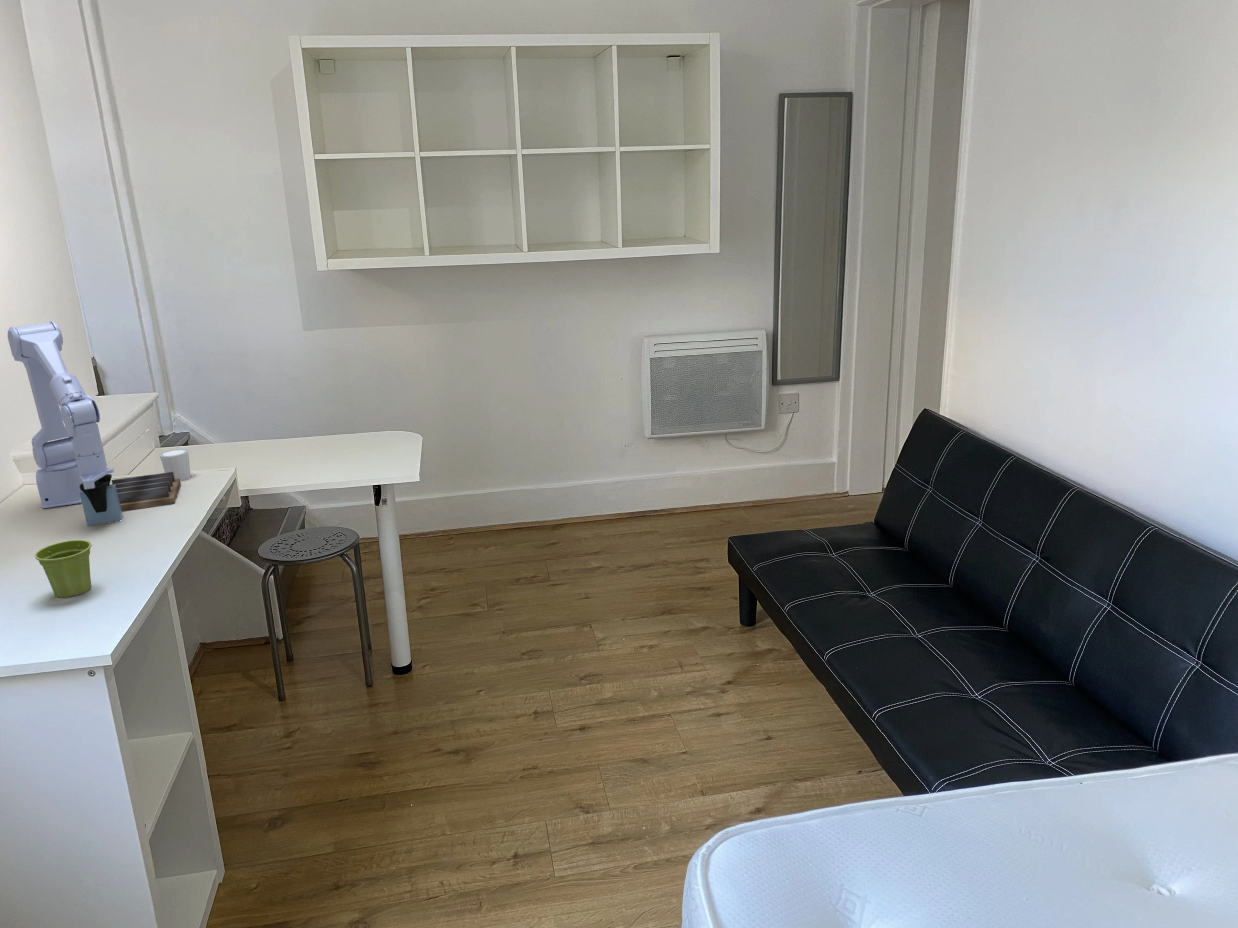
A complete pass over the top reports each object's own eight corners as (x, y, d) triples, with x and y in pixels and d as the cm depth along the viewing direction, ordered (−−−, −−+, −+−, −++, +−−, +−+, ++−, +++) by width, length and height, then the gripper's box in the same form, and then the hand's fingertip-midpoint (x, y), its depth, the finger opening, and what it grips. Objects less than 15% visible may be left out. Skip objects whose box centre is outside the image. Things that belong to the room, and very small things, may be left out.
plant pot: (111, 580, 182) (102, 539, 179) (80, 602, 173) (70, 559, 171) (67, 580, 183) (56, 539, 180) (33, 602, 174) (22, 559, 172)
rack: (100, 514, 220) (96, 498, 219) (111, 493, 234) (108, 478, 233) (174, 503, 225) (171, 488, 223) (180, 484, 239) (177, 469, 238)
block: (87, 525, 213) (79, 492, 210) (89, 522, 215) (81, 489, 213) (121, 520, 215) (113, 488, 213) (122, 517, 217) (115, 484, 215)
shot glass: (198, 476, 245) (193, 450, 243) (175, 483, 240) (169, 457, 238) (183, 472, 249) (177, 447, 247) (159, 480, 243) (153, 454, 241)
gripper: (103, 458, 205) (116, 516, 209) (114, 442, 218) (126, 497, 222) (67, 463, 202) (81, 522, 207) (80, 446, 216) (93, 501, 220)
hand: (102, 509), depth 214 cm, fingers closed on block, 2 cm apart
